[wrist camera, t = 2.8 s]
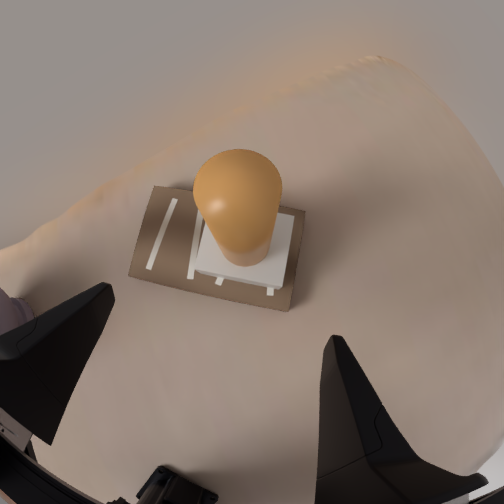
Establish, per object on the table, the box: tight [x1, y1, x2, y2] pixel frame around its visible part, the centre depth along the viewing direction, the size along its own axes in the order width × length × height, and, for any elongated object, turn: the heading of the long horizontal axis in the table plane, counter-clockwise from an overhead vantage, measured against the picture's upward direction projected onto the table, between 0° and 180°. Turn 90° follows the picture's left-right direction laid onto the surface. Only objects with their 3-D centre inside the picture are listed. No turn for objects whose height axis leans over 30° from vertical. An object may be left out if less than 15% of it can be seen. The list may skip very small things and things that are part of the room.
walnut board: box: [128, 186, 305, 312], centre depth 22 cm, size 8×13×2 cm, turn 79°
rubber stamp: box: [193, 149, 294, 289], centre depth 16 cm, size 5×6×11 cm
